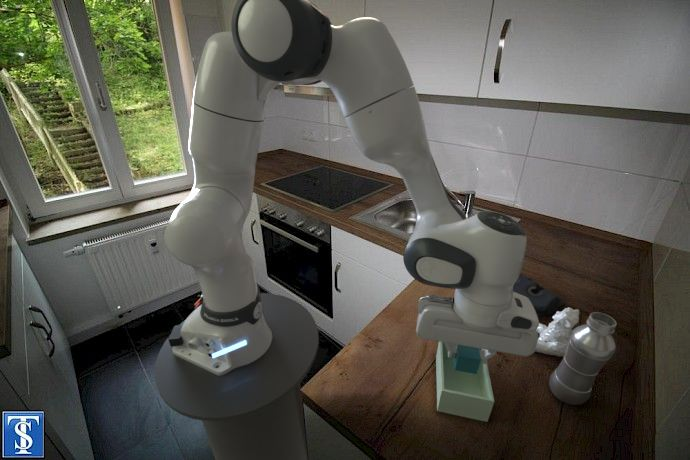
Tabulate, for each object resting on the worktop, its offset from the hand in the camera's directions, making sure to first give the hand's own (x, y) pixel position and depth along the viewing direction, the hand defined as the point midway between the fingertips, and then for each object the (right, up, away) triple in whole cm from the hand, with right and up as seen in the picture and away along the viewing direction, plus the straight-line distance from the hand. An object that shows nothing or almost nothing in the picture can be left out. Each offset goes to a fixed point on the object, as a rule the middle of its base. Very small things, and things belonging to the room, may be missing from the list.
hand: (466, 358), depth 61 cm
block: (0, -1, +1) cm, 2 cm away
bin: (-4, -4, +3) cm, 7 cm away
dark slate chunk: (+26, +7, +31) cm, 41 cm away
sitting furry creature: (+25, -3, +13) cm, 28 cm away
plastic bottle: (+21, -8, +2) cm, 22 cm away
